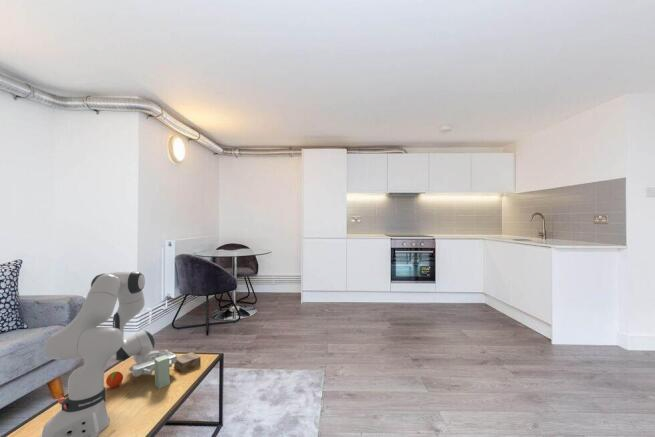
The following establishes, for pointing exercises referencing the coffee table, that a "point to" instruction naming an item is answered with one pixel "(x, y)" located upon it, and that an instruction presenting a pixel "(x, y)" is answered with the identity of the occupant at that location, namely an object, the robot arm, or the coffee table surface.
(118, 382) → the red tomato
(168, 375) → the sage block
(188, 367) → the walnut block
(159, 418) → the coffee table surface
